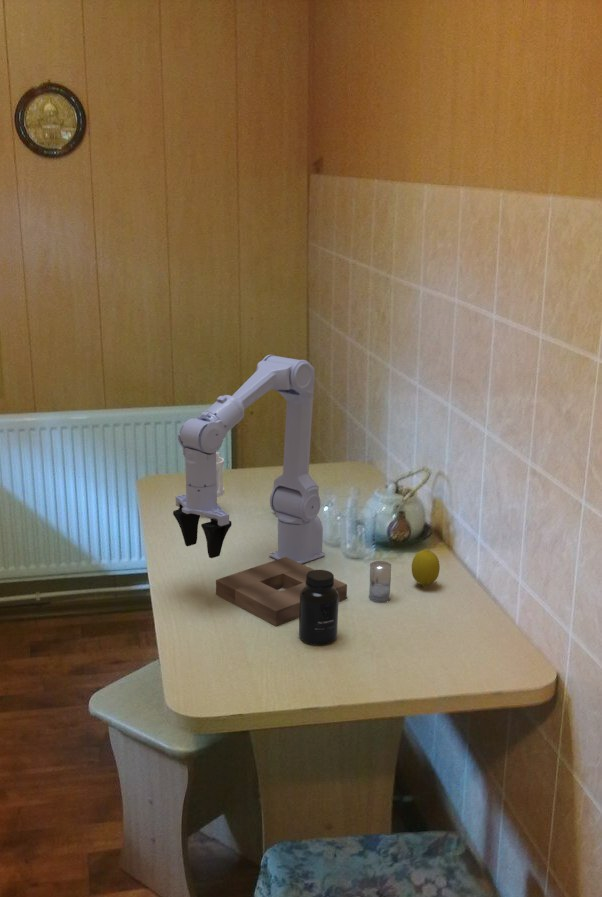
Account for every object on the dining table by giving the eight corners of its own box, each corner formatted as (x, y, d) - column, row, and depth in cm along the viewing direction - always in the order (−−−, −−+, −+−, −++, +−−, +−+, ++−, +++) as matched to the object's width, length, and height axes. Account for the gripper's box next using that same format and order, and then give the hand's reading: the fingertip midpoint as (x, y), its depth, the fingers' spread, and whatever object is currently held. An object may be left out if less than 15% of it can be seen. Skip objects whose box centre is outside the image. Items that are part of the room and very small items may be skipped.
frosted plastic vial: (379, 592, 183) (380, 559, 181) (394, 598, 181) (395, 565, 179) (364, 597, 181) (366, 564, 179) (379, 604, 178) (381, 570, 176)
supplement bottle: (324, 650, 160) (326, 586, 157) (291, 639, 164) (292, 576, 161) (344, 634, 166) (346, 572, 163) (311, 624, 169) (312, 563, 166)
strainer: (230, 513, 226) (229, 454, 222) (212, 521, 220) (211, 461, 216) (207, 507, 229) (206, 449, 225) (189, 516, 224) (188, 456, 219)
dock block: (285, 570, 193) (285, 556, 192) (346, 598, 180) (347, 584, 179) (216, 594, 181) (215, 579, 181) (276, 626, 169) (276, 611, 168)
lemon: (441, 583, 188) (444, 546, 185) (433, 594, 183) (435, 556, 181) (415, 578, 190) (417, 542, 188) (406, 588, 185) (408, 551, 183)
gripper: (161, 477, 176) (163, 544, 180) (206, 496, 166) (207, 567, 169) (192, 470, 180) (193, 536, 184) (238, 488, 170) (238, 557, 174)
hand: (202, 550), depth 177 cm, fingers open, 7 cm apart
